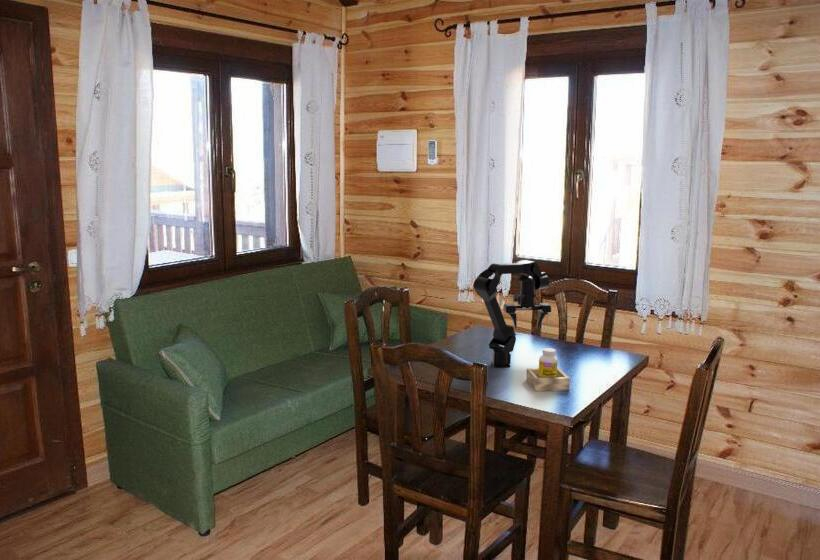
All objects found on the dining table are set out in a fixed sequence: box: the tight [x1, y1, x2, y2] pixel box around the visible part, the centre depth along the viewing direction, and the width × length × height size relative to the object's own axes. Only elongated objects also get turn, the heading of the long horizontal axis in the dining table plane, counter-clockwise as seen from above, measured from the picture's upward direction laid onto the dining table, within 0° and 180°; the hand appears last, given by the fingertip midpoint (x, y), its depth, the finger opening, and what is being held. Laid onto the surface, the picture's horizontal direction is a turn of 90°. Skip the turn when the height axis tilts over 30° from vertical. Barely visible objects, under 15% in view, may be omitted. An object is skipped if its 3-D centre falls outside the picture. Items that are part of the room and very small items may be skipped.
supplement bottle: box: [538, 347, 559, 378], centre depth 256 cm, size 7×7×13 cm
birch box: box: [525, 367, 571, 392], centre depth 256 cm, size 12×12×5 cm
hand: (526, 328), depth 287 cm, fingers open, 9 cm apart
